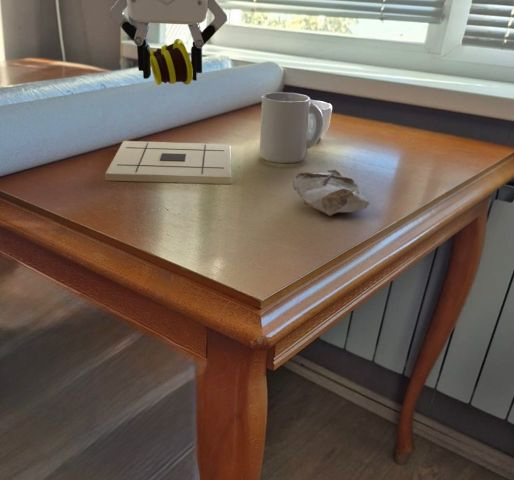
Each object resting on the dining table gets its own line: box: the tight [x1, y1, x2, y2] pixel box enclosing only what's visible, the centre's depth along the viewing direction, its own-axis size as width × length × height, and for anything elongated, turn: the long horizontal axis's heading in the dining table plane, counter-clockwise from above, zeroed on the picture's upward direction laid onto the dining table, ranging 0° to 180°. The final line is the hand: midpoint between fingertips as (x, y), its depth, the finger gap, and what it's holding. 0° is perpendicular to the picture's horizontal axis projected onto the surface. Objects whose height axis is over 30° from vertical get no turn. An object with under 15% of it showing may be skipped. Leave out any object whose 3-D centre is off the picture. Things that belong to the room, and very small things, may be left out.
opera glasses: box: [150, 38, 193, 86], centre depth 82 cm, size 10×5×5 cm, turn 9°
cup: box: [259, 91, 323, 164], centre depth 94 cm, size 7×10×9 cm
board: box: [104, 140, 232, 185], centre depth 90 cm, size 17×17×1 cm
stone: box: [291, 169, 370, 217], centre depth 78 cm, size 12×9×3 cm
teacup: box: [307, 99, 333, 138], centre depth 105 cm, size 10×8×5 cm
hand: (171, 76), depth 83 cm, fingers closed on opera glasses, 5 cm apart
